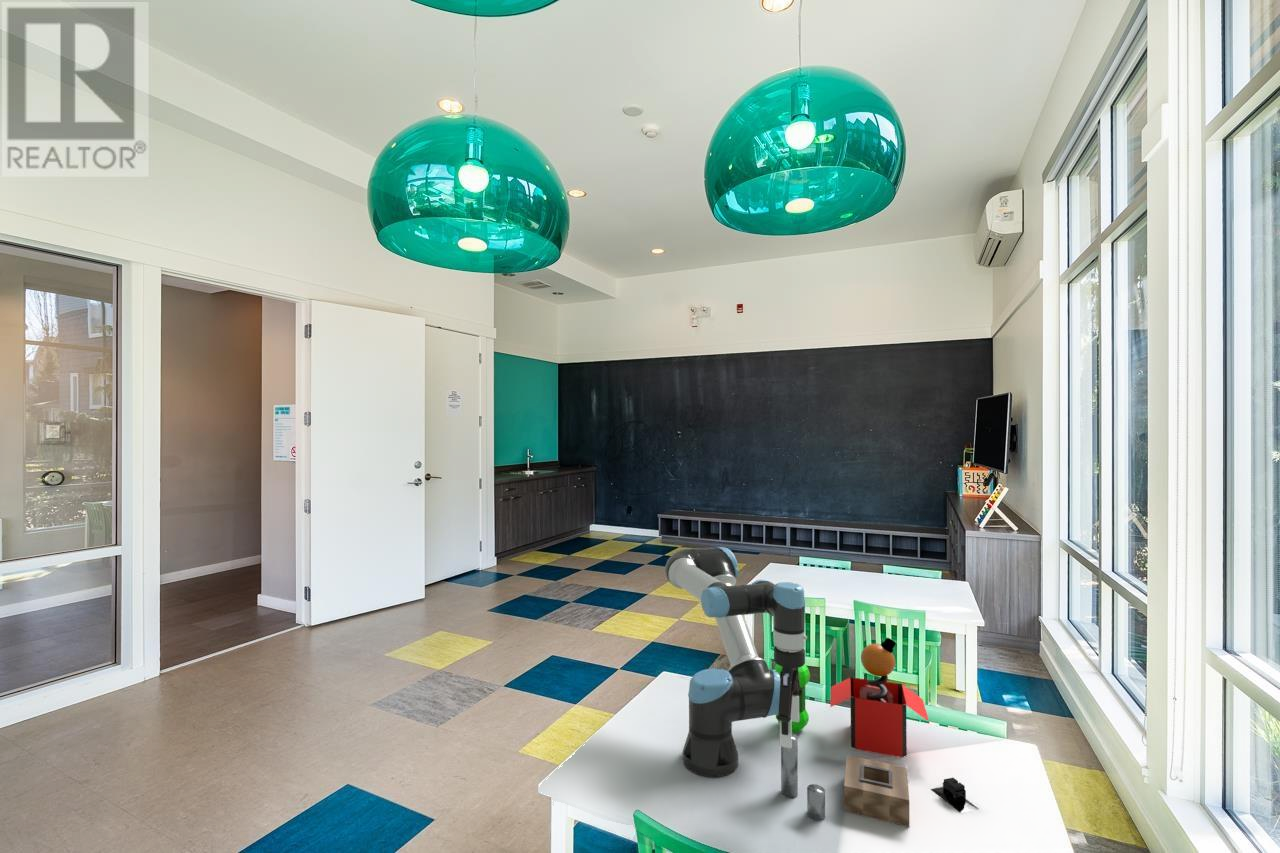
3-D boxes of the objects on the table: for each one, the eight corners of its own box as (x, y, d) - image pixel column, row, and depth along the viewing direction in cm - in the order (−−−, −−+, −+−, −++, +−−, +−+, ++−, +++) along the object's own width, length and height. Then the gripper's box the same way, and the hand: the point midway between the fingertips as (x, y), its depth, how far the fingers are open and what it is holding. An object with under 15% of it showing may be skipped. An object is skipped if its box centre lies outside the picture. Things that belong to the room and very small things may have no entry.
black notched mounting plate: (987, 815, 136) (987, 795, 136) (961, 820, 134) (961, 800, 134) (946, 784, 148) (946, 766, 148) (922, 788, 146) (922, 770, 146)
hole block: (844, 811, 136) (844, 784, 137) (847, 778, 149) (847, 753, 149) (909, 826, 131) (909, 798, 131) (906, 791, 144) (906, 766, 144)
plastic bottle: (793, 740, 168) (793, 654, 169) (767, 725, 177) (767, 643, 177) (816, 730, 174) (816, 647, 174) (790, 716, 182) (789, 637, 183)
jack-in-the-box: (922, 734, 172) (921, 633, 172) (929, 762, 157) (928, 651, 158) (831, 719, 180) (831, 623, 181) (830, 745, 166) (830, 640, 166)
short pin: (806, 818, 134) (806, 792, 134) (808, 808, 138) (808, 782, 138) (824, 822, 132) (824, 796, 133) (825, 812, 136) (825, 786, 136)
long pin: (779, 795, 142) (779, 738, 142) (782, 786, 146) (782, 731, 146) (796, 799, 141) (796, 742, 141) (798, 790, 144) (798, 734, 145)
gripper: (798, 667, 131) (798, 762, 130) (810, 633, 154) (811, 713, 153) (764, 662, 134) (765, 755, 133) (781, 629, 157) (782, 708, 156)
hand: (789, 733), depth 143 cm, fingers open, 13 cm apart
